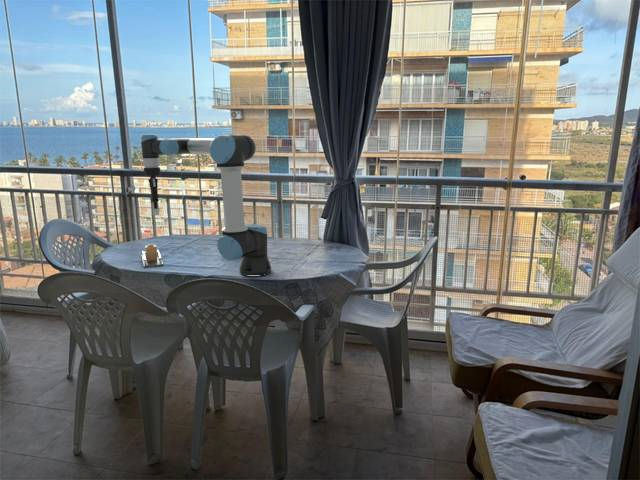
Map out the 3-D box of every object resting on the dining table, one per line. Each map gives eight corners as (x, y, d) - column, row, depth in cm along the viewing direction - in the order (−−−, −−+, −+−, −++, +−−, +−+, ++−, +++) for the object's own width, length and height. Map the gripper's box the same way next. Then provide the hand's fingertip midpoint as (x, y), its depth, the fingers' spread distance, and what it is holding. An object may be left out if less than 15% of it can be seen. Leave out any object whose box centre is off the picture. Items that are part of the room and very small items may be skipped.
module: (157, 259, 224) (156, 245, 222) (146, 260, 222) (145, 246, 220) (156, 257, 228) (155, 243, 226) (146, 258, 226) (145, 244, 224)
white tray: (163, 265, 218) (162, 259, 217) (143, 267, 215) (143, 260, 214) (159, 254, 236) (159, 248, 235) (141, 256, 232) (141, 250, 231)
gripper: (161, 167, 208) (165, 216, 214) (158, 165, 220) (162, 212, 226) (144, 168, 205) (149, 217, 211) (142, 166, 217) (147, 213, 222)
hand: (156, 214), depth 218 cm, fingers closed
